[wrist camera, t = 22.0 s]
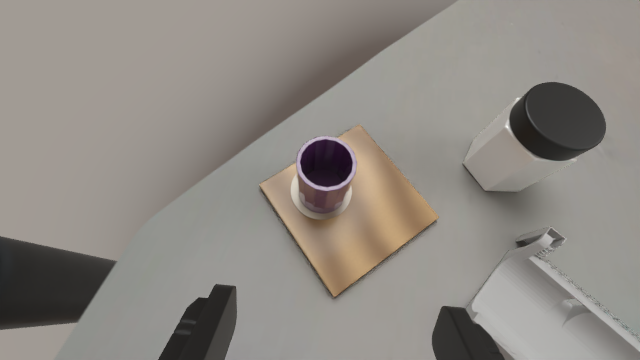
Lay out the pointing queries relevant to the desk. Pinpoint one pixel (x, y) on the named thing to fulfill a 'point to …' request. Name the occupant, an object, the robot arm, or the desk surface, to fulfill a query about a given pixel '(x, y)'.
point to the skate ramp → (545, 310)
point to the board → (353, 215)
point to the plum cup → (324, 173)
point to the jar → (535, 137)
